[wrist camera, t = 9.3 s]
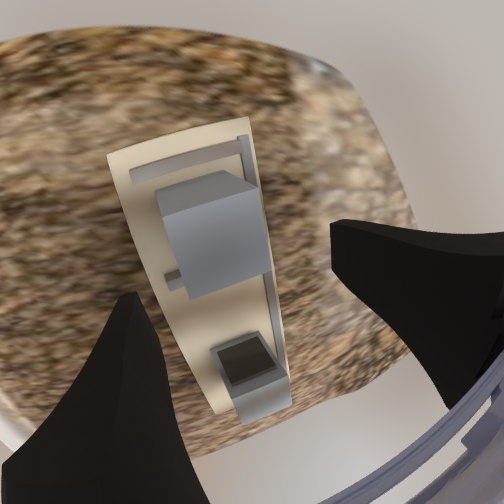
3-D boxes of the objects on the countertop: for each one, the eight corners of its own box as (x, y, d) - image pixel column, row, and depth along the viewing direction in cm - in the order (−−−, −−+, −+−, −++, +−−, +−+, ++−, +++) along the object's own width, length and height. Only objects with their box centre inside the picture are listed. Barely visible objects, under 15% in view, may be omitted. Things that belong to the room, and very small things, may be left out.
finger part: (238, 238, 18) (273, 277, 14) (176, 259, 17) (193, 307, 13) (223, 169, 16) (258, 187, 12) (154, 190, 15) (162, 217, 11)
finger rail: (285, 375, 28) (315, 420, 22) (212, 405, 26) (233, 456, 20) (241, 116, 16) (292, 114, 11) (108, 153, 14) (91, 167, 9)
